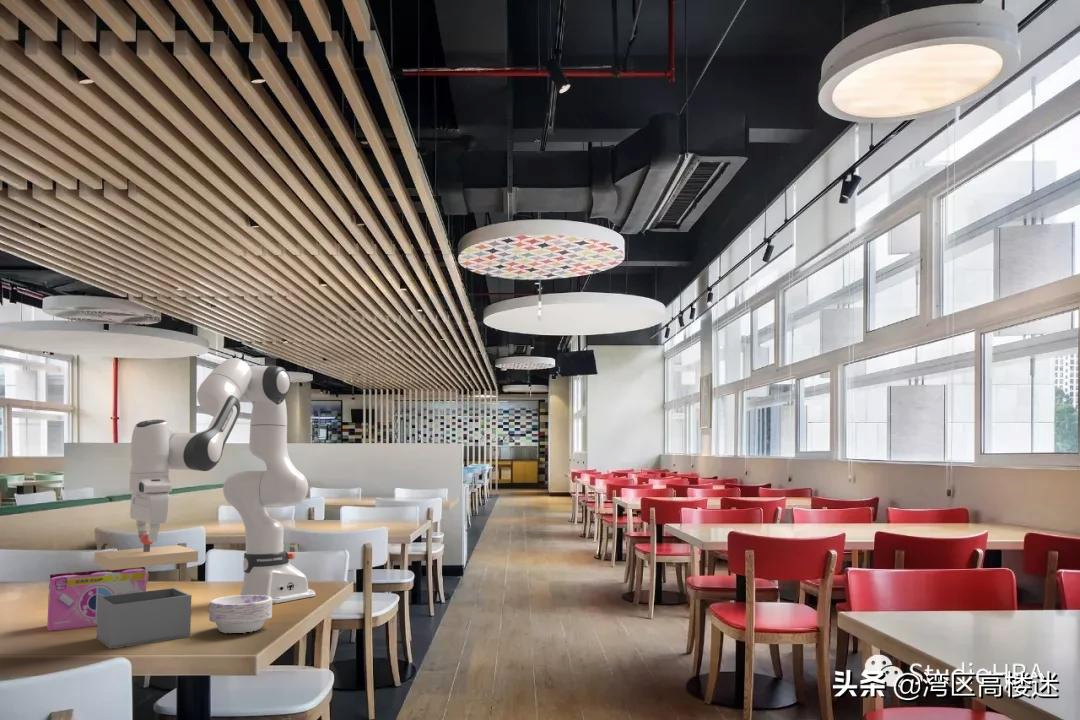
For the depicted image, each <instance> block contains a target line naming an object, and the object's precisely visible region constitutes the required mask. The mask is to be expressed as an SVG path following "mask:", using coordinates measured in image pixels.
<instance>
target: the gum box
mask: <svg viewBox="0 0 1080 720" xmlns="http://www.w3.org/2000/svg"><path fill="white" fill-rule="evenodd" d="M148 571H149V570H148V569H146V567H139V568H129V569H119V570H108V569H100V570H87V571H86V570H85V571H75V572H73V571H72V572H64V573H50V574H49V577H48V578H49V580H48V581H49V582H48V596H47V597H48V602H47V621H46V622H47V623H46V627H47V631H48V632H53V630H54V631H61V630H73V629H78V628H89V627H94V626H95V627H97V626H96V625H97V613H98V597H102V596H110V595H118V594H127V593H135V592H143V591H147V585H148V581H149V577H150V575H149V573H148Z"/></svg>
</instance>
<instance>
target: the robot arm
mask: <svg viewBox="0 0 1080 720" xmlns="http://www.w3.org/2000/svg"><path fill="white" fill-rule="evenodd" d="M290 389H291V378H290V375H289V373H288V372H287V370H286V369H285V368H284V367H282V366H277V365H251V366H250V365H249V364H248V363H247V362H246V361H244V360H242V359H240V358H236V357H235V358H234V357H233V358H228V359H225V360H224V361H223V362H221V363H220V364H218V365H217V366H216V367H215V368H214V369H213V370H212V371H210V373H209V374H208V375H207V377H206V378H205V379H204V380H203V381H202V382H201V383H200V386H199V388H198V389H197V392H196V397H197V398H196V399H197V400H196V401H197V403H198V404H199V406H200V409H202V410H203V411H204V412H205V413H206V414H208V415H209V416H211V417H213V418H212V419H211V422H210V423H209V426H207V428H206V429H205V430H202V431H199V432H198V431H197V432H178V431H176V430H174V429H172V428H171V427H170V426H169V425H168V421H167V420H165V419H150V420H149V419H148V420H142V421H139V422H138V423H136V424H135V426H134V428H133V430H132V434H131V442H130V458H131V467H130V471H129V488H128V489H129V490H128V491H129V492H132V493H131V498H130V508H129V509H130V512H129V515H130V518H131V520H136V521H135V523H136V529H137V538H139V539H140V538H141V536H142V535H144V534H148V541H150V542H153V543H155V542H157V541H158V534H159V530H160V526H161V524H166V522H167V520H168V517H169V508H170V493H171V492H172V490H173V483H172V482H171V481H170V478H169V474H170V473H169V470H177V471H178V470H179V471H180V470H181V471H185V470H188V471H189V470H191V471H200V472H209V471H211V470H212V469H214V468H215V467H216V466H217V465H218V463H219V462H220V460H221V458H222V456H223V451H224V448H225V445H226V442H227V441H228V439H229V436H230V435H231V432H232V430H233V429H234V427H235V424H236V423H237V420H238V418H239V415H240V413H241V403H251V404H252V409H251V415H250V425H249V426H250V427H249V445H248V447H249V448H248V449H249V451H250V452H251V454H252V455H253V456H255V457H256V458H258V459H259V460H262V461H263V462H264V463H265V466H266V470H244V471H238V472H234V473H231V474H229V476H227V478H226V479H225V481H224V483H223V487H222V488H223V489H222V490H223V498H224V499H225V500H226V502H227V503H228V504H229V505H231V506H232V507H233V508H234V509H235V510H236V512H237V513H238V514H239V516H240V517H241V520H242V522H243V525H244V532H245V535H244V536H245V552H244V554H243V560H242V561H243V566H242V567H243V568H242V569H243V572H244V573H243V582H242V586H241V592H240V594H239V595H265V596H270V597H272V599H273V600H272V604H279V603H285V602H291V601H296V600H302V599H305V598H307V599H308V598H311V597H316V591H315V590H314V589H310V588H309V584H308V579H307V576H306V574H304V572H303V571H301V570H299V569H298V568H296V567H295V566H294V565H293V564H291V563H290V560H294V559H295V558H296V555H295V554H294V553H295V552H286V551H285V550H284V535H285V533H284V532H285V531H284V530H285V528H284V526H283V524H282V523H281V522H280V521H279V520H278V519H275V518H273V517H271V516H270V515H269V512H268V510H267V507H289V506H294V505H298V504H301V503H302V502H303V501H304V500H305V499H306V497H307V495H308V492H309V483H308V480H307V477H306V476H305V475H304V474H303V473H302V472H300V471H299V469H297V468H296V466H295V465H294V463H293V462H292V460H291V458H290V455H289V452H288V437H287V436H288V412H287V403H286V397H287V396H288V394H289V392H290ZM147 524H148V525H149V526H148V527H149V532H148V533H147V526H146V525H147Z"/></svg>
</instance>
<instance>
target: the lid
mask: <svg viewBox="0 0 1080 720" xmlns="http://www.w3.org/2000/svg"><path fill="white" fill-rule="evenodd" d="M148 534H149V533H147V534H144V535H142V536H141V538H139V540H140V543H141V544H143V547H141V548H139V547H138V548H131V549H119V550H118V549H117V550H108V551H95V552H94V555H93V556H94V557H93V558H94V559H93V564H96V565H98V566H100V567H101V568H104V569H105V570H107V569H108V570H119V569H129V568H139V567H145V568H146V567H157V566H167V565H168V566H169V565H176V564H178V565H179V564H185V563H186V564H187V563H197V562H199V550H196V549H194V548H190V547H186V546H183V545H179V544H175V545H163V546H155V547H154V546H152V547H151V545H152V544H153V543H154V542H150V541H148Z"/></svg>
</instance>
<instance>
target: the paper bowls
mask: <svg viewBox="0 0 1080 720" xmlns="http://www.w3.org/2000/svg"><path fill="white" fill-rule="evenodd" d="M272 600H273V599H272V597H270V596H265V595H240V594H239V595H238V594H237V595H228V596H221V597H217V598H214V599H212V600H210V601H209V609H208V610H209V612H208V615H209V616H208V617H209V619H208V620H209V621H210V622H212V623H215V624H216V627H217V629H218V631H219V632H221V633H222V632H223V634H227V633H243V634H247V633H246V632H250V633H254V632H256V631H259V630H260V629H261V628H262V627H263V625H264V624H265V623H266V621H267V620H270V619H271V618H272V617H273V603H272ZM253 631H254V632H253Z"/></svg>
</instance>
